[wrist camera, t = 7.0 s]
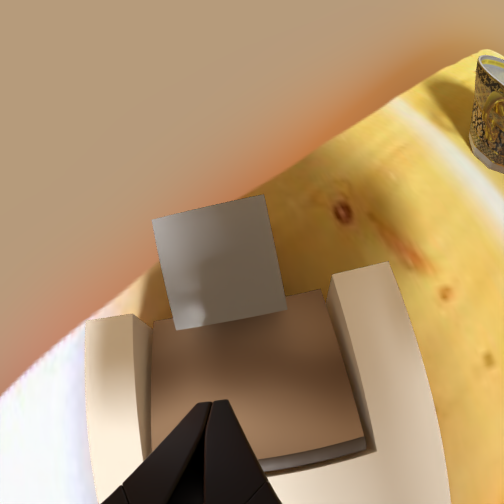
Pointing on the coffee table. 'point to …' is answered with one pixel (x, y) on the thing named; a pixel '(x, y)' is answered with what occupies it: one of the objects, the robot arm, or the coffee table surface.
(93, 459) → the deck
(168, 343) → the trapdoor
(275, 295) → the stone
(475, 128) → the ceramic cup
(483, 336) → the coffee table surface
